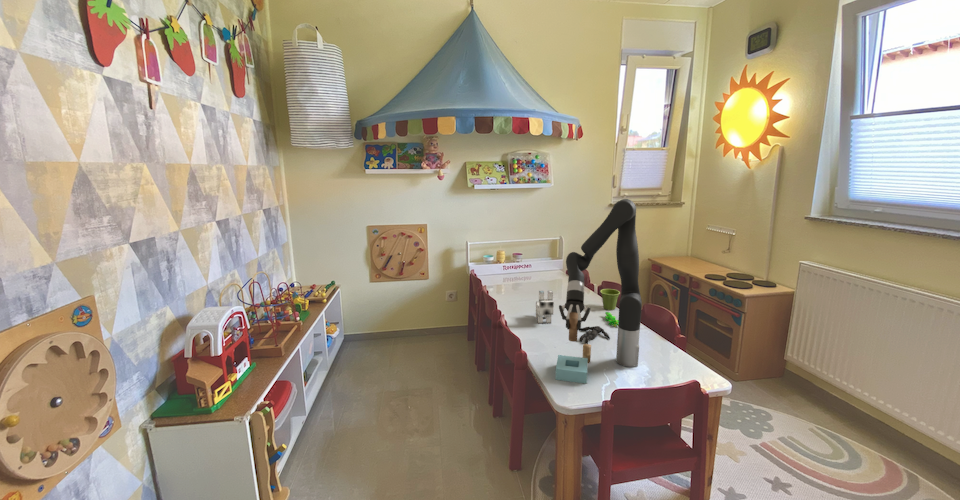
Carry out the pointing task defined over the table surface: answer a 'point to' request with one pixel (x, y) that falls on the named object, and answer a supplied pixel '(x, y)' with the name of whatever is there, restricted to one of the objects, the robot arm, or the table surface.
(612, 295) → the plant pot
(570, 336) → the long pin
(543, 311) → the toy llama
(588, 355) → the short pin
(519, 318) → the table surface
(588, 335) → the dark grey sprawling piece
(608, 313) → the green lumpy elongated piece
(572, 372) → the hole block
